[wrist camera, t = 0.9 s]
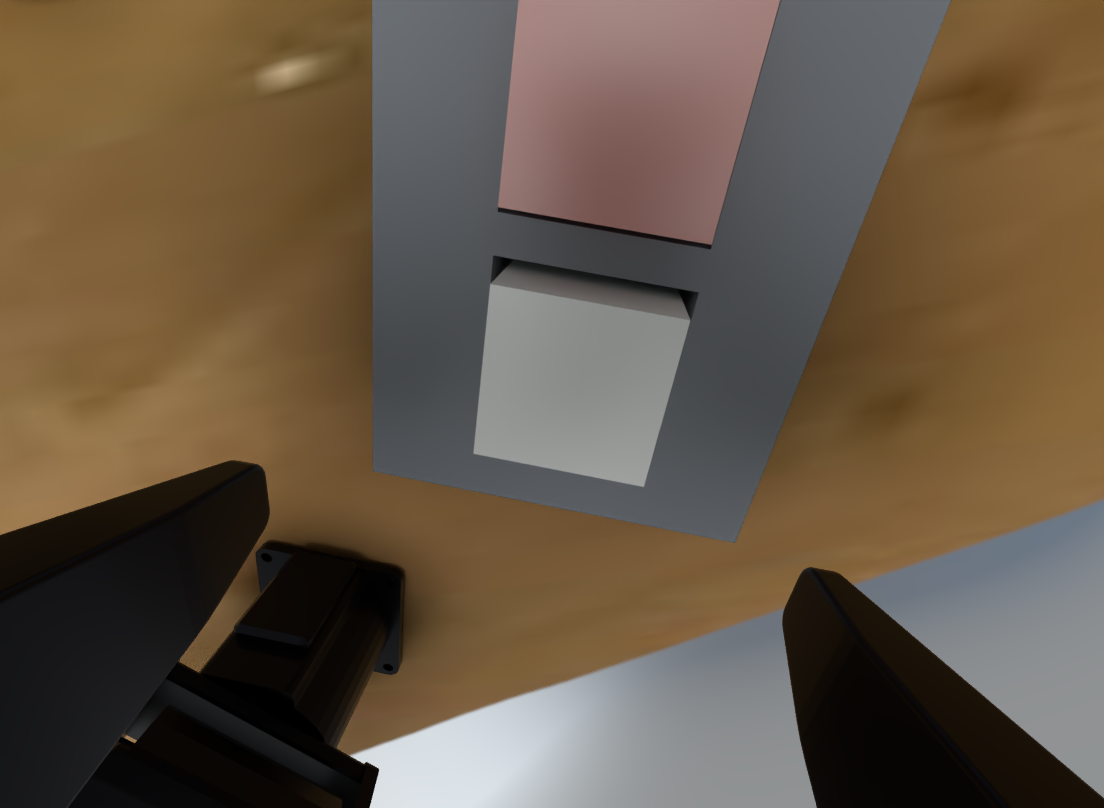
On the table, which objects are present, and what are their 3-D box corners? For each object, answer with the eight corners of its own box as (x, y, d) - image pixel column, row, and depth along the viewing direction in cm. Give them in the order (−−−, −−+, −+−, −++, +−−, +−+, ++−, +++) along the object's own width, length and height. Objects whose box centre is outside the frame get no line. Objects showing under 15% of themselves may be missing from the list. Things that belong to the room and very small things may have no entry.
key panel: (713, 469, 19) (734, 542, 16) (418, 412, 20) (372, 471, 16) (1040, -473, 10) (1282, -831, 6) (458, -542, 10) (371, -918, 7)
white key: (640, 430, 16) (643, 487, 13) (498, 403, 16) (473, 453, 13) (677, 287, 14) (690, 320, 11) (515, 258, 14) (490, 284, 12)
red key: (693, 225, 13) (711, 244, 11) (522, 195, 13) (497, 206, 11) (748, 13, 11) (787, -29, 9) (547, -18, 12) (525, -69, 9)
